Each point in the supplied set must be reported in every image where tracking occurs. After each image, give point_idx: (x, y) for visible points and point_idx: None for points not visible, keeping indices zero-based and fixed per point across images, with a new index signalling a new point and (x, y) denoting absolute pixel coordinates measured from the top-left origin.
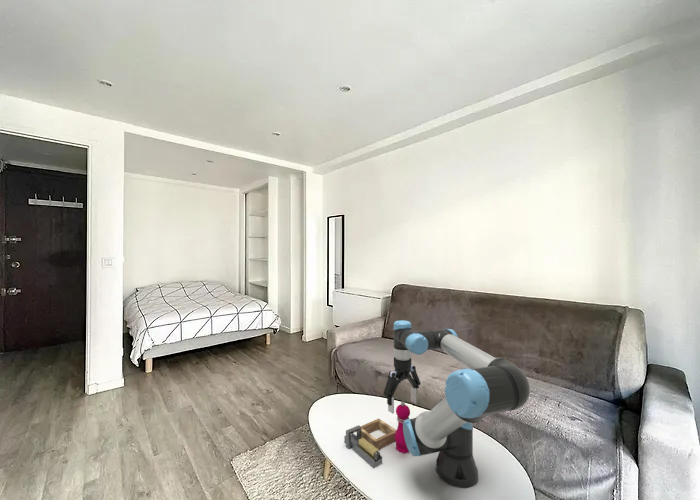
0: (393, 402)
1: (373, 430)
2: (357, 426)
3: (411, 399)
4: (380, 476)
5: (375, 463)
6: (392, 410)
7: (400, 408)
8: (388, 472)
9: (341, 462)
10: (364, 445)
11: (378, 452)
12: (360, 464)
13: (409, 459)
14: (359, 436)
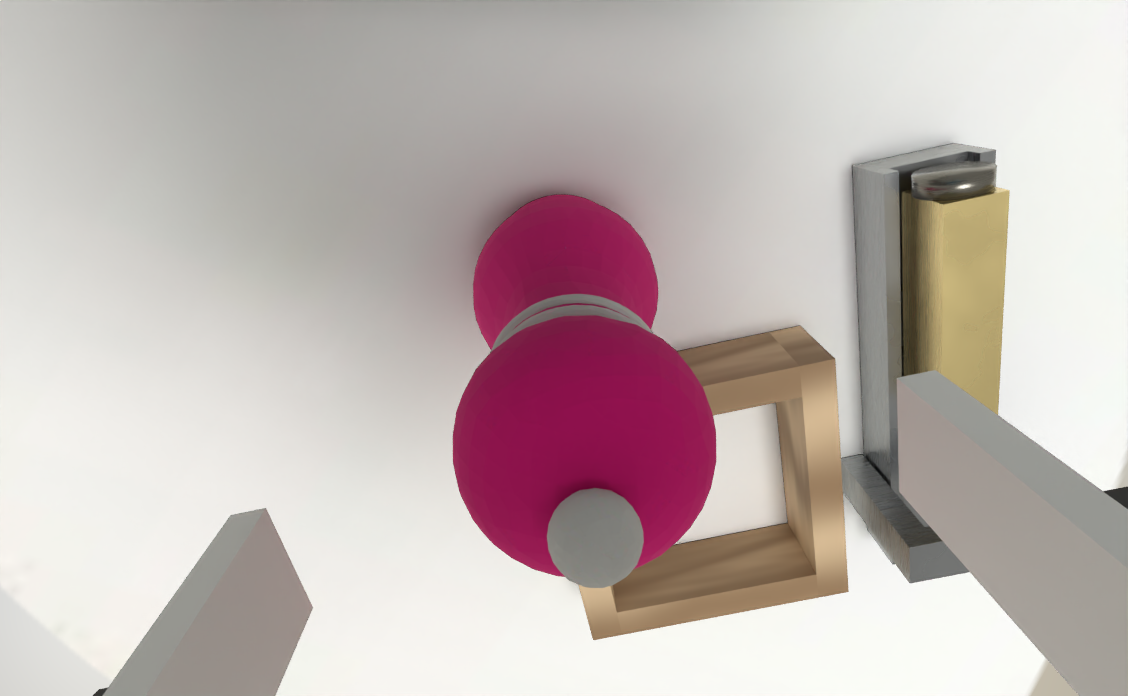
0: (1090, 517)
1: (667, 553)
2: (935, 569)
3: (288, 628)
4: (976, 16)
5: (954, 150)
6: (975, 405)
7: (679, 460)
8: (881, 31)
9: (1121, 316)
10: (996, 335)
11: (959, 177)
12: (1015, 233)
13: (596, 106)
14: (892, 492)
